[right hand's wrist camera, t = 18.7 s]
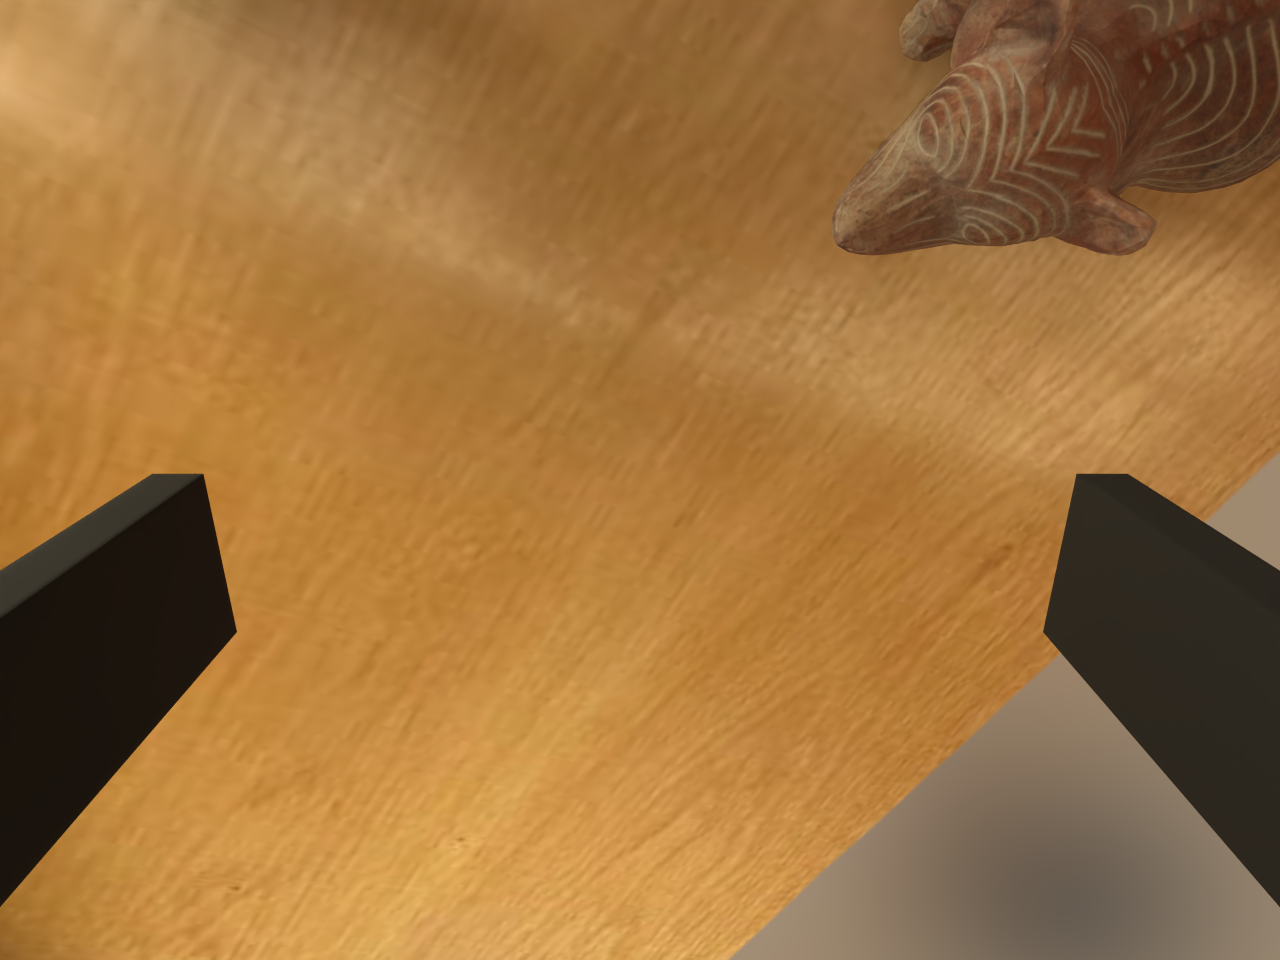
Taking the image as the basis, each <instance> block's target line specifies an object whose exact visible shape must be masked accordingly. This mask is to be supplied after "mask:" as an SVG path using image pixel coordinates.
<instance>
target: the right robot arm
mask: <svg viewBox="0 0 1280 960" xmlns="http://www.w3.org/2000/svg"><path fill="white" fill-rule="evenodd" d="M236 632H237V630H236V626H235V621H234V616H233V611H232V607H231V602H230V597H229V593H228V588H227V583H226V578H225V574H224V569H223V564H222V560H221V555H220V550H219V545H218V541H217V536H216V531H215V527H214V522H213V517H212V512H211V508H210V503H209V498H208V493H207V489H206V484H205V479H204V475H203V474H151V475H150V476H148V477H147V478H145V479H144V480H142V481H140V482H139V483H137V484H136V485H134V486H133V487H131V488H129V489H128V490H126V491H125V492H123V493H122V494H120V495H118V496H117V497H115V498H114V499H112V500H111V501H109V502H107V503H106V504H104V505H103V506H101V507H100V508H98V509H96V510H95V511H93V512H92V513H90V514H89V515H87V516H85V517H84V518H82V519H81V520H79V521H78V522H76V523H74V524H73V525H71V526H70V527H68V528H67V529H65V530H63V531H62V532H60V533H59V534H57V535H56V536H54V537H52V538H51V539H49V540H48V541H46V542H45V543H43V544H41V545H40V546H38V547H37V548H35V549H34V550H32V551H30V552H29V553H27V554H26V555H24V556H23V557H21V558H19V559H18V560H16V561H15V562H13V563H12V564H10V565H8V566H7V567H5V568H4V569H2V570H1V571H0V907H1V905H2V904H3V903H4V902H5V901H6V900H7V898H8V897H9V896H10V895H11V894H12V893H13V891H14V890H15V889H16V888H17V887H18V886H19V885H20V883H21V882H22V881H23V880H24V879H25V878H26V876H27V875H28V874H29V873H30V872H31V871H32V869H33V868H34V867H35V866H36V865H37V864H38V862H39V861H40V860H41V859H42V858H43V857H44V855H45V854H46V853H47V852H48V851H49V850H50V849H51V847H52V846H53V845H54V844H55V843H56V842H57V840H58V839H59V838H60V837H61V836H62V835H63V833H64V832H65V831H66V830H67V829H68V828H69V826H70V825H71V824H72V823H73V822H74V821H75V819H76V818H77V817H78V816H79V815H80V814H81V813H82V811H83V810H84V809H85V808H86V807H87V806H88V804H89V803H90V802H91V801H92V800H93V799H94V797H95V796H96V795H97V794H98V793H99V792H100V790H101V789H102V788H103V787H104V786H105V785H106V783H107V782H108V781H109V780H110V779H111V778H112V776H113V775H114V774H115V773H116V772H117V771H118V770H119V768H120V767H121V766H122V765H123V764H124V763H125V761H126V760H127V759H128V758H129V757H130V756H131V754H132V753H133V752H134V751H135V750H136V749H137V747H138V746H139V745H140V744H141V743H142V742H143V740H144V739H145V738H146V737H147V736H148V735H149V734H150V732H151V731H152V730H153V729H154V728H155V727H156V725H157V724H158V723H159V722H160V721H161V720H162V718H163V717H164V716H165V715H166V714H167V713H168V711H169V710H170V709H171V708H172V707H173V706H174V704H175V703H176V702H177V701H178V700H179V699H180V697H181V696H182V695H183V694H184V693H185V692H186V691H187V689H188V688H189V687H190V686H191V685H192V684H193V682H194V681H195V680H196V679H197V678H198V677H199V675H200V674H201V673H202V672H203V671H204V670H205V668H206V667H207V666H208V665H209V664H210V663H211V661H212V660H213V659H214V658H215V657H216V656H217V655H218V653H219V652H220V651H221V650H222V649H223V648H224V646H225V645H226V644H227V643H228V642H229V641H230V639H231V638H232V637H233V636H234V635H235V634H236ZM1043 632H1044V634H1045V635H1046V636H1047V637H1048V638H1049V639H1050V641H1051V642H1052V643H1053V644H1054V645H1055V646H1056V648H1057V649H1058V650H1059V651H1060V652H1061V653H1062V655H1063V656H1064V657H1065V658H1066V659H1067V660H1068V661H1069V663H1070V664H1071V665H1072V666H1073V667H1074V668H1075V670H1076V671H1077V672H1078V673H1079V674H1080V675H1081V676H1082V678H1083V679H1084V680H1085V681H1086V682H1087V684H1088V685H1089V686H1090V687H1091V688H1092V689H1093V690H1094V692H1095V693H1096V694H1097V695H1098V696H1099V697H1100V699H1101V700H1102V701H1103V702H1104V703H1105V704H1106V706H1107V707H1108V708H1109V709H1110V710H1111V711H1112V713H1113V714H1114V715H1115V716H1116V717H1117V718H1118V720H1119V721H1120V722H1121V723H1122V724H1123V725H1124V726H1125V728H1126V729H1127V730H1128V731H1129V732H1130V734H1131V735H1132V736H1133V737H1134V738H1135V739H1136V740H1137V742H1138V743H1139V744H1140V745H1141V746H1142V747H1143V749H1144V750H1145V751H1146V752H1147V753H1148V754H1149V756H1150V757H1151V758H1152V759H1153V760H1154V761H1155V763H1156V764H1157V765H1158V766H1159V767H1160V768H1161V770H1162V771H1163V772H1164V773H1165V774H1166V775H1167V776H1168V778H1169V779H1170V780H1171V781H1172V782H1173V783H1174V785H1175V786H1176V787H1177V788H1178V789H1179V790H1180V791H1181V793H1182V794H1183V795H1184V796H1185V797H1186V798H1187V800H1188V801H1189V802H1190V803H1191V804H1192V805H1193V807H1194V808H1195V809H1196V810H1197V811H1198V813H1199V814H1200V815H1201V816H1202V817H1203V818H1204V819H1205V821H1206V822H1207V823H1208V824H1209V825H1210V826H1211V828H1212V829H1213V830H1214V831H1215V832H1216V833H1217V835H1218V836H1219V837H1220V838H1221V839H1222V840H1223V842H1224V843H1225V844H1226V845H1227V846H1228V847H1229V848H1230V850H1231V851H1232V852H1233V853H1234V854H1235V855H1236V857H1237V858H1238V859H1239V860H1240V861H1241V862H1242V864H1243V865H1244V866H1245V867H1246V868H1247V869H1248V871H1249V872H1250V873H1251V874H1252V875H1253V876H1254V877H1255V879H1256V880H1257V881H1258V882H1259V883H1260V885H1261V886H1262V887H1263V888H1264V889H1265V890H1266V891H1267V893H1268V894H1269V895H1270V896H1271V897H1272V898H1273V900H1274V901H1275V902H1276V903H1277V904H1278V905H1279V907H1280V571H1279V570H1278V569H1276V568H1275V567H1273V566H1272V565H1270V564H1268V563H1267V562H1265V561H1264V560H1262V559H1261V558H1259V557H1257V556H1256V555H1254V554H1253V553H1251V552H1250V551H1248V550H1246V549H1245V548H1243V547H1242V546H1240V545H1239V544H1237V543H1235V542H1234V541H1232V540H1231V539H1229V538H1228V537H1226V536H1224V535H1223V534H1221V533H1220V532H1218V531H1217V530H1215V529H1213V528H1212V527H1210V526H1209V525H1207V524H1206V523H1204V522H1202V521H1201V520H1199V519H1198V518H1196V517H1195V516H1193V515H1191V514H1190V513H1188V512H1187V511H1185V510H1184V509H1182V508H1180V507H1179V506H1177V505H1176V504H1174V503H1173V502H1171V501H1169V500H1168V499H1166V498H1165V497H1163V496H1162V495H1160V494H1158V493H1157V492H1155V491H1154V490H1152V489H1151V488H1149V487H1147V486H1146V485H1144V484H1143V483H1141V482H1140V481H1138V480H1136V479H1135V478H1133V477H1132V476H1130V475H1129V474H1077V475H1076V479H1075V484H1074V489H1073V493H1072V498H1071V503H1070V508H1069V512H1068V517H1067V522H1066V526H1065V531H1064V536H1063V541H1062V545H1061V550H1060V555H1059V560H1058V564H1057V569H1056V574H1055V578H1054V583H1053V588H1052V593H1051V597H1050V602H1049V607H1048V611H1047V616H1046V621H1045V626H1044V630H1043Z"/></svg>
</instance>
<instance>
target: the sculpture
mask: <svg viewBox="0 0 1280 960" xmlns="http://www.w3.org/2000/svg"><path fill="white" fill-rule="evenodd" d="M899 35H900V47H901V49H902V51H903V53H904V55H906V56H907V57H909V58H910V59H912V60H917V61H929V60H931V59H933V58H935V57H937V56H939V55H941V54H943V53H944V52H946V51H948V50H949V49H951V48H952V47H953V48H952V53H951V59H950V64H951V71H950V72H949V73H948V74H947V75H946V76H945V77H944V78H943V79H942V80H941V81H940V82H939V83H938V84H937V85H936V86H935V87H934V88H933V90H932V91H931V92H930V93H929V94H928V95H927V96H926V97H925V98H924V99H923V101H922V102H921V103H920V104H919V105H918V106H917V107H916V109H915V110H914V111H913V112H912V114H911V115H910V116H909V117H908V118H907V120H906V121H905V122H904V123H903V124H902V125H901V126H900V127H899V128H898V129H897V130H895V131H894V132H893V133H892V134H891V135H890V136H889V137H888V138H887V139H886V140H885V141H883V142H882V143H881V145H880V146H879V147H878V149H877V150H876V151H875V152H874V154H873V155H872V156H871V157H870V159H869V160H868V161H867V162H866V164H865V165H864V167H863V168H862V169H861V170H860V171H859V173H858V174H857V175H856V176H855V177H854V178H853V180H852V181H851V182H850V184H849V185H848V186H847V188H846V189H845V191H844V192H843V193H842V195H841V197H840V198H839V200H838V202H837V205H836V209H835V212H834V215H833V218H832V236H833V238H834V240H835V242H836V244H837V245H838V246H839V247H841V248H842V249H844V250H846V251H847V252H851V253H856V254H861V255H884V254H894V253H901V252H906V251H911V250H918V249H924V248H930V247H936V246H942V245H949V244H963V245H978V246H1006V245H1011V244H1018V243H1022V242H1026V241H1035V240H1037V239H1039V238H1044V237H1049V236H1053V237H1056V238H1058V239H1060V240H1062V241H1064V242H1067V243H1070V244H1073V245H1077V246H1080V247H1084V248H1087V249H1089V250H1092V251H1094V252H1098V253H1103V254H1109V255H1128V254H1131V253H1133V252H1135V251H1137V250H1139V249H1141V248H1142V247H1144V246H1145V245H1146V244H1147V242H1148V240H1149V239H1150V237H1151V235H1152V234H1153V232H1154V230H1155V229H1156V226H1157V222H1156V221H1155V220H1154V219H1153V218H1151V217H1150V216H1149V215H1148V214H1147V213H1145V212H1144V211H1143V210H1141V209H1139V208H1137V207H1135V206H1134V205H1132V204H1130V203H1128V202H1126V201H1124V200H1123V199H1121V198H1120V197H1119V195H1120V194H1121V193H1122V192H1123V191H1124V190H1125V189H1126V188H1127V187H1130V186H1140V187H1144V188H1148V189H1152V190H1158V191H1164V192H1177V193H1196V192H1202V191H1208V190H1213V189H1219V188H1224V187H1227V186H1230V185H1233V184H1236V183H1239V182H1242V181H1244V180H1246V179H1247V178H1249V177H1251V176H1253V175H1255V174H1257V173H1259V172H1260V171H1262V170H1264V169H1266V168H1268V167H1269V166H1270V165H1272V164H1273V163H1274V162H1276V161H1277V160H1278V159H1280V0H919V1H918V2H917V3H916V4H915V5H914V7H913V8H912V9H911V10H910V11H909V12H908V13H907V15H906V17H905V19H904V20H903V23H902V25H901V27H900V29H899Z"/></svg>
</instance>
